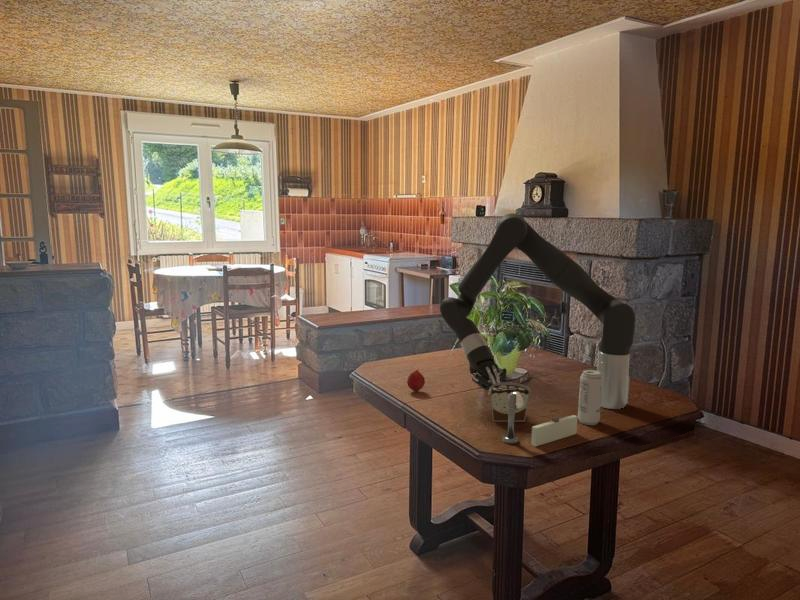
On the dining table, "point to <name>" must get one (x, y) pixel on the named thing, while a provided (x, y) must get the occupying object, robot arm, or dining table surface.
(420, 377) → the onion
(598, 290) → the robot arm
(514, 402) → the post
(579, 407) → the energy drink can
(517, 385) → the food container
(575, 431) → the rail
